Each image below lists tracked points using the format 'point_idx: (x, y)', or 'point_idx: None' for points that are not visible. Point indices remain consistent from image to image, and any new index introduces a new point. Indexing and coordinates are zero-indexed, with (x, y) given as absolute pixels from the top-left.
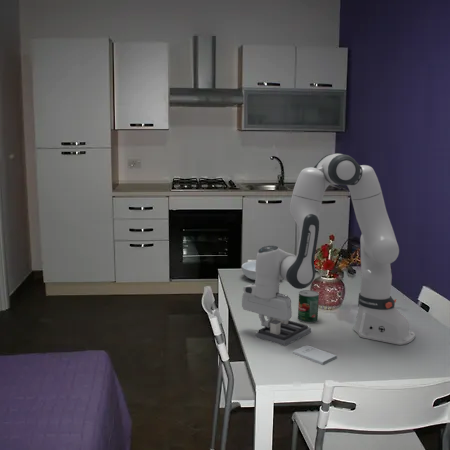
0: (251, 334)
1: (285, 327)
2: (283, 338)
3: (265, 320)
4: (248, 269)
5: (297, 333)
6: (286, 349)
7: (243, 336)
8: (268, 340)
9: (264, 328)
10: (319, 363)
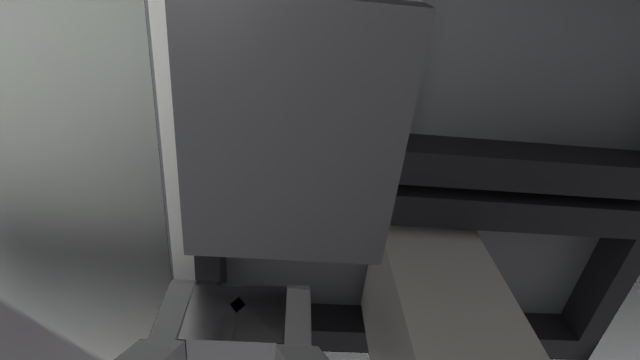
0: (115, 275)
1: None
2: (573, 352)
3: (185, 344)
4: None
5: None
6: (593, 356)
7: (99, 349)
8: None
9: (219, 262)
10: None
